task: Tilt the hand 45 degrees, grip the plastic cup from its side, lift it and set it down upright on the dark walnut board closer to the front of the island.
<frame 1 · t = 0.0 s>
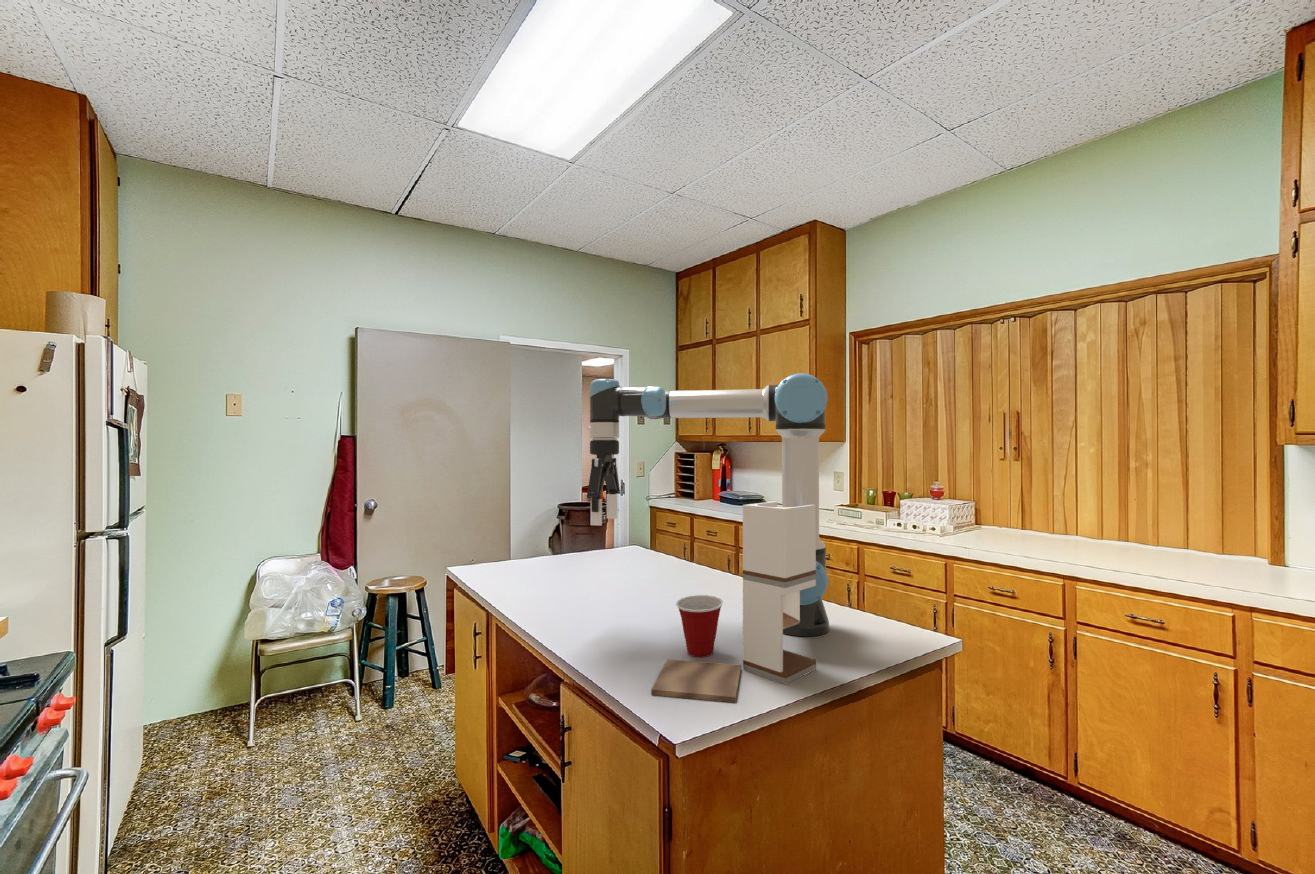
hand: (604, 521, 149), 28 cm above the counter, tool pointing down, fingers open, 13 cm apart
white dispenser: (779, 670, 123), on the counter
walnut board: (698, 681, 117), on the counter
plastic cup: (699, 654, 133), on the counter
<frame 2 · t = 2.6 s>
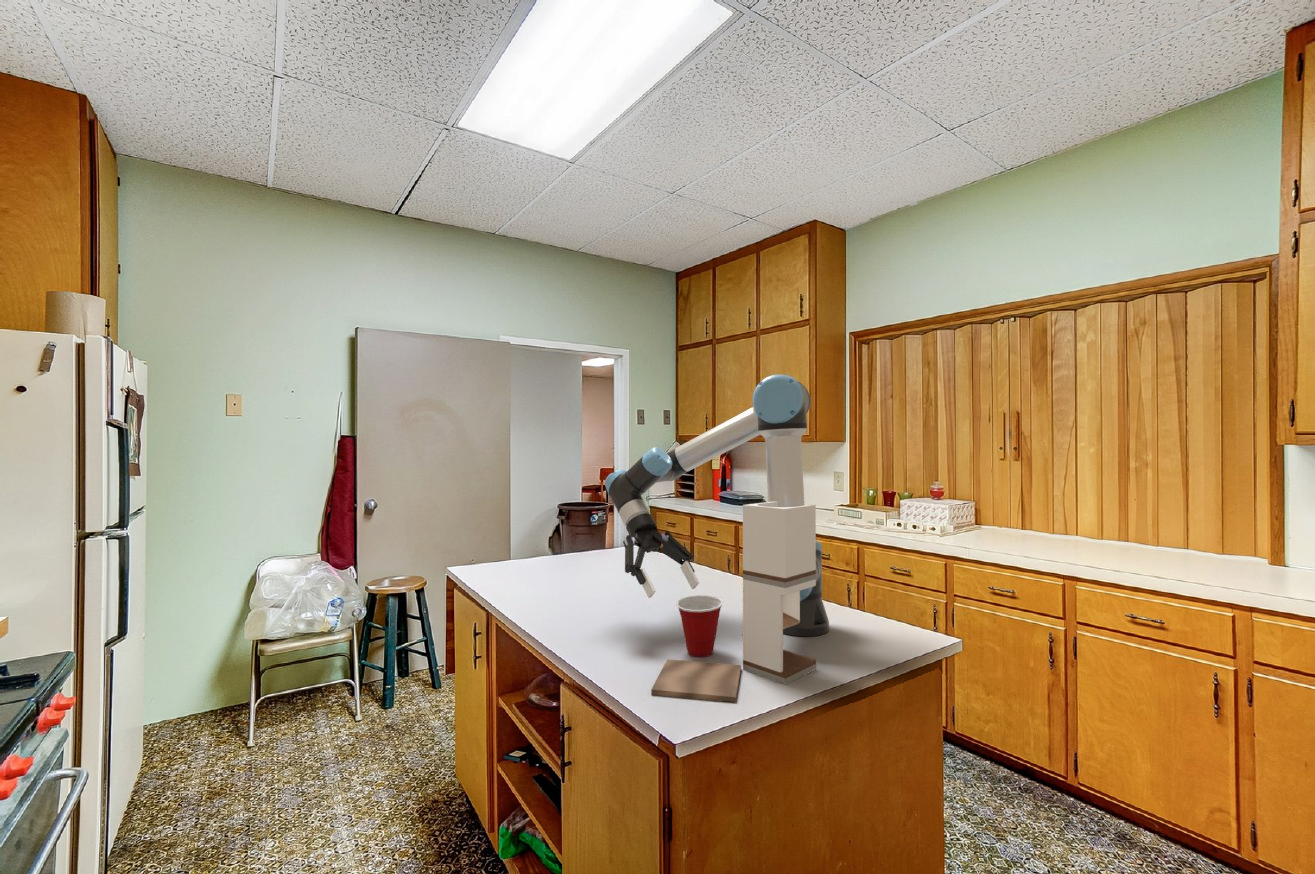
hand: (674, 590, 139), 13 cm above the counter, tool tilted 45°, fingers open, 13 cm apart
nothing on the counter moved.
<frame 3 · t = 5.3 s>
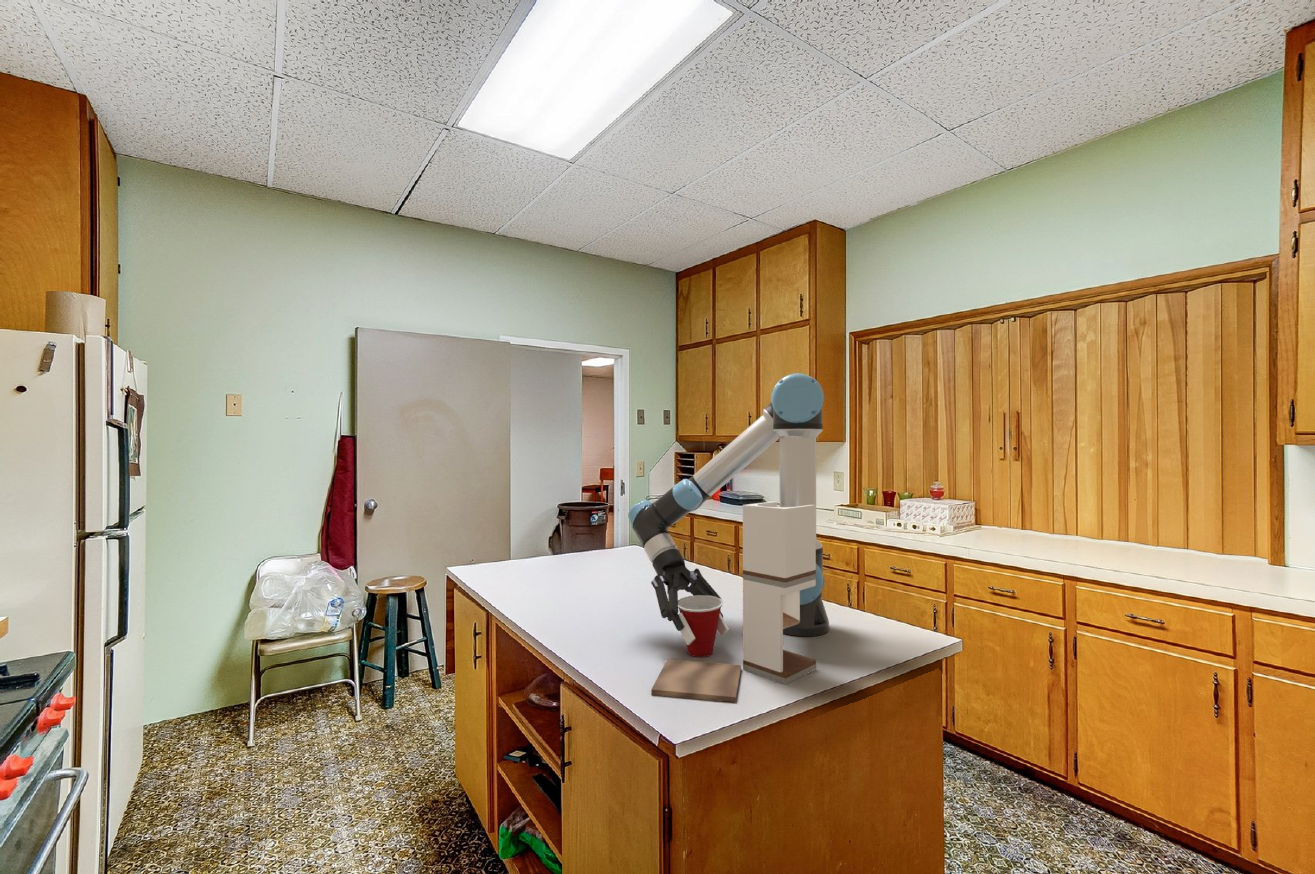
hand: (708, 637, 130), 4 cm above the counter, tool tilted 45°, fingers closed on plastic cup, 10 cm apart
plastic cup: (699, 653, 133), on the counter, touching gripper
everything else where it was.
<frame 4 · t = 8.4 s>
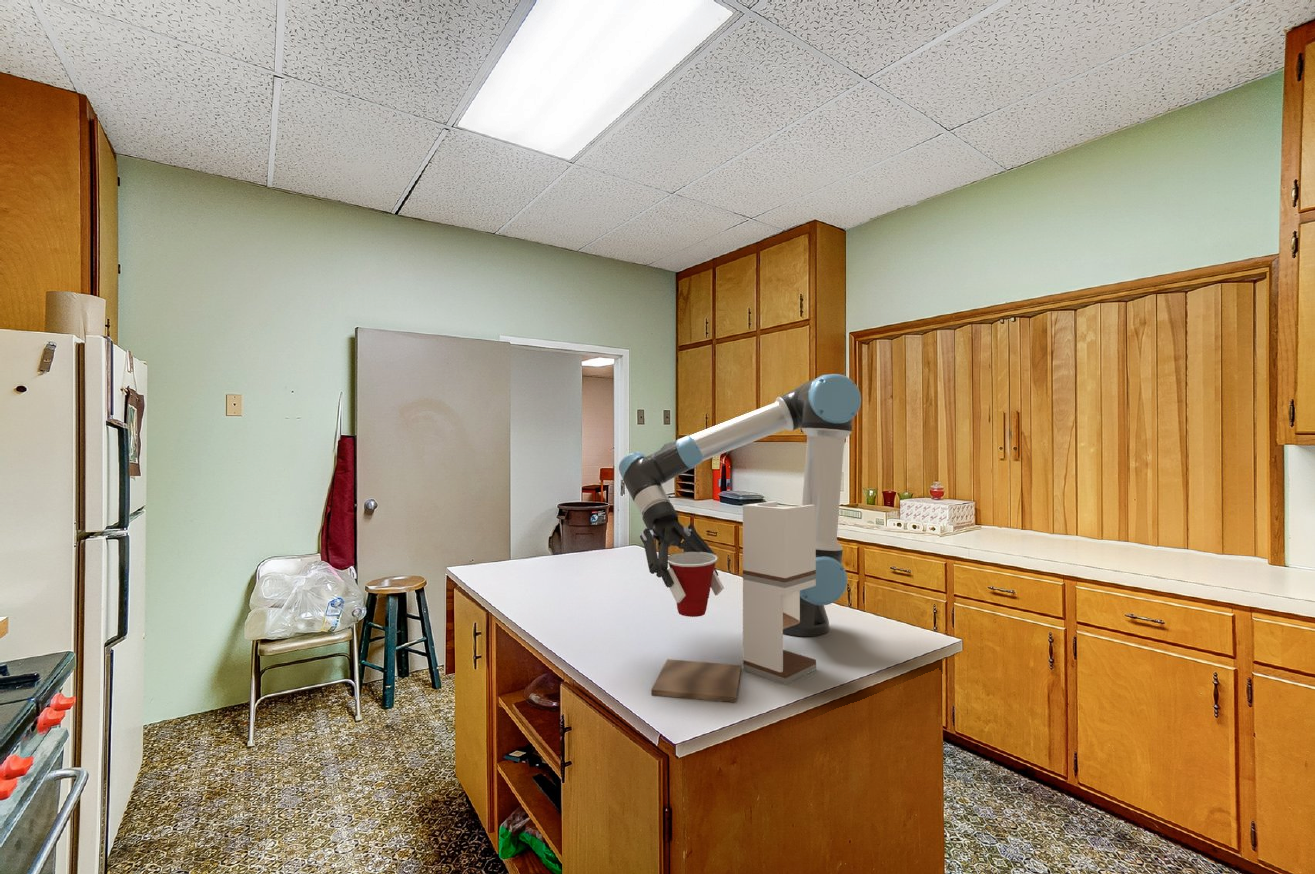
hand: (701, 595, 119), 17 cm above the counter, tool tilted 45°, fingers closed on plastic cup, 10 cm apart
plastic cup: (690, 614, 121), point 12 cm above the counter, touching gripper
everything else where it was.
when the fingers open (7 cm above the counter, at t = 11.7 s): plastic cup moves 3 cm, resting on walnut board.
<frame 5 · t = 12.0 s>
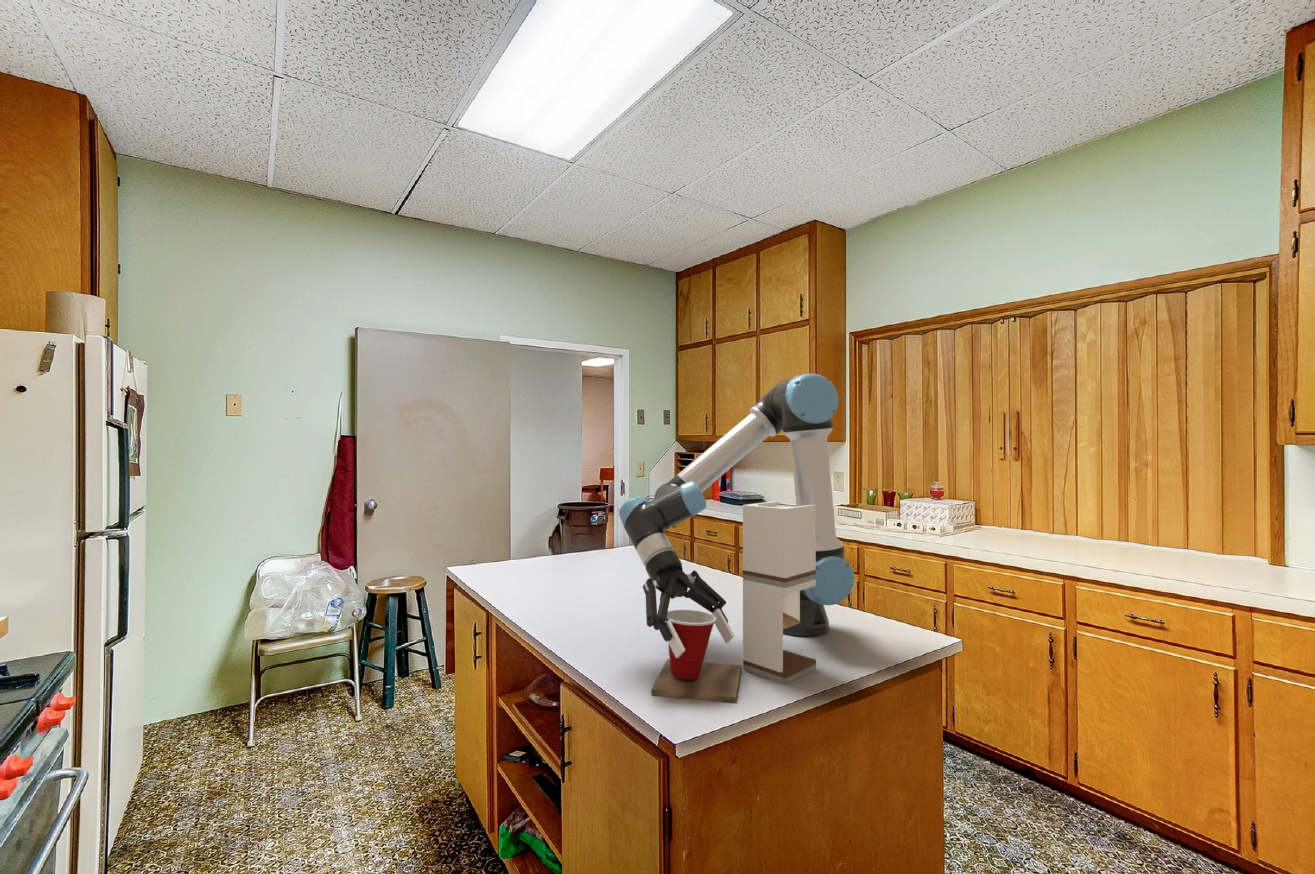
hand: (706, 646, 115), 8 cm above the counter, tool tilted 45°, fingers open, 13 cm apart
plastic cup: (684, 676, 116), point 1 cm above the counter, touching gripper, walnut board
everything else where it was.
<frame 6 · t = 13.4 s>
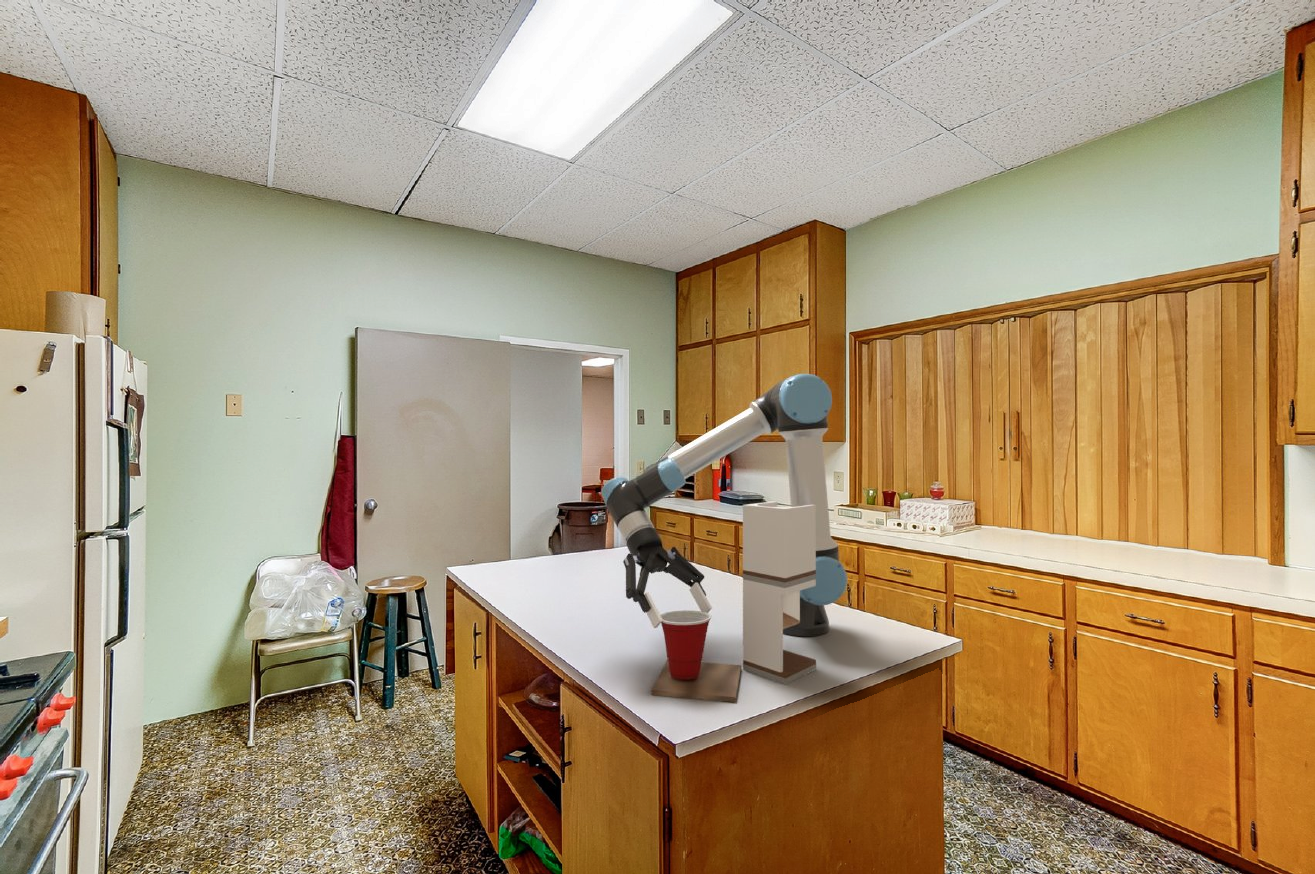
hand: (684, 618, 119), 12 cm above the counter, tool tilted 45°, fingers open, 13 cm apart
plastic cup: (683, 676, 116), point 1 cm above the counter, touching walnut board
everything else where it was.
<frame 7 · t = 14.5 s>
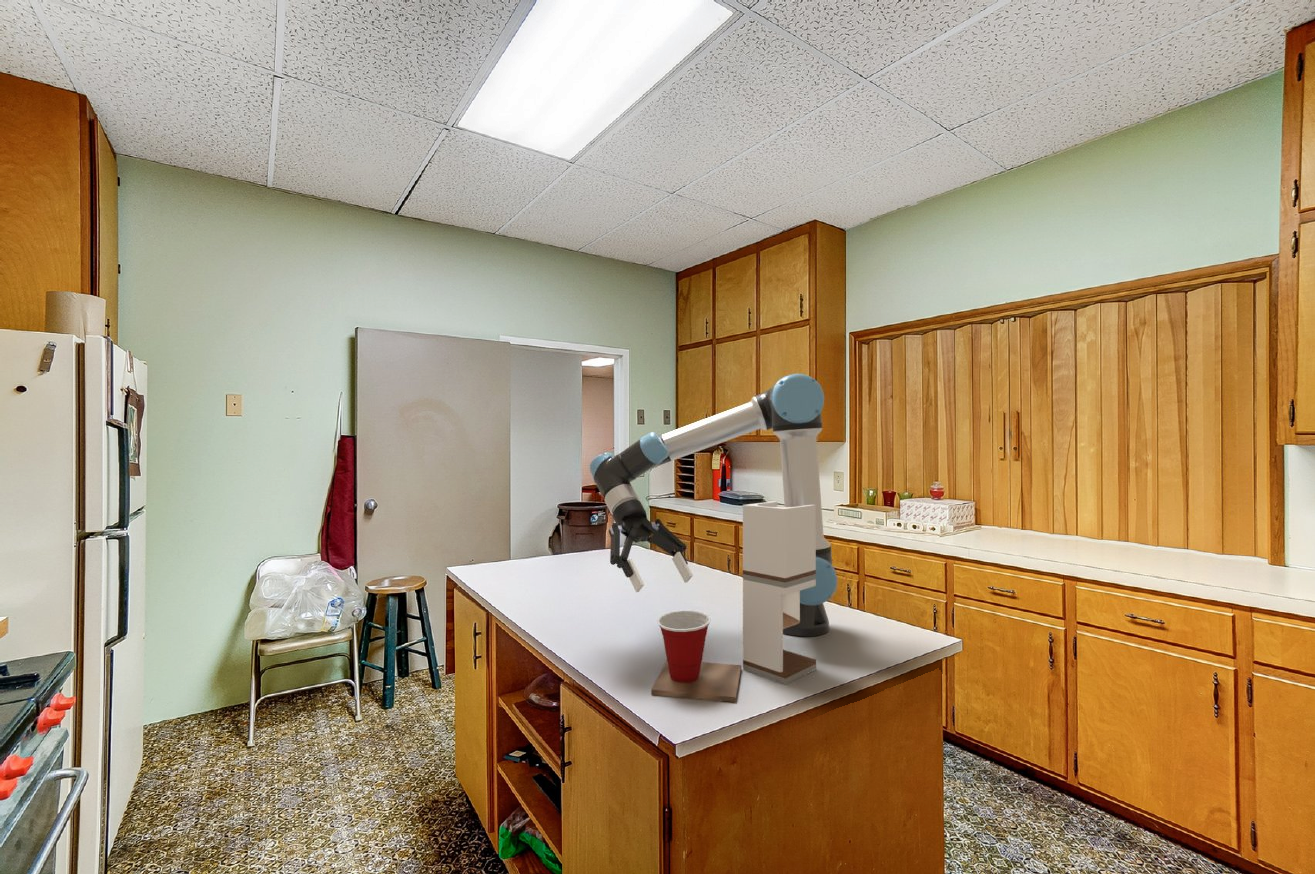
hand: (665, 583, 125), 18 cm above the counter, tool tilted 45°, fingers open, 13 cm apart
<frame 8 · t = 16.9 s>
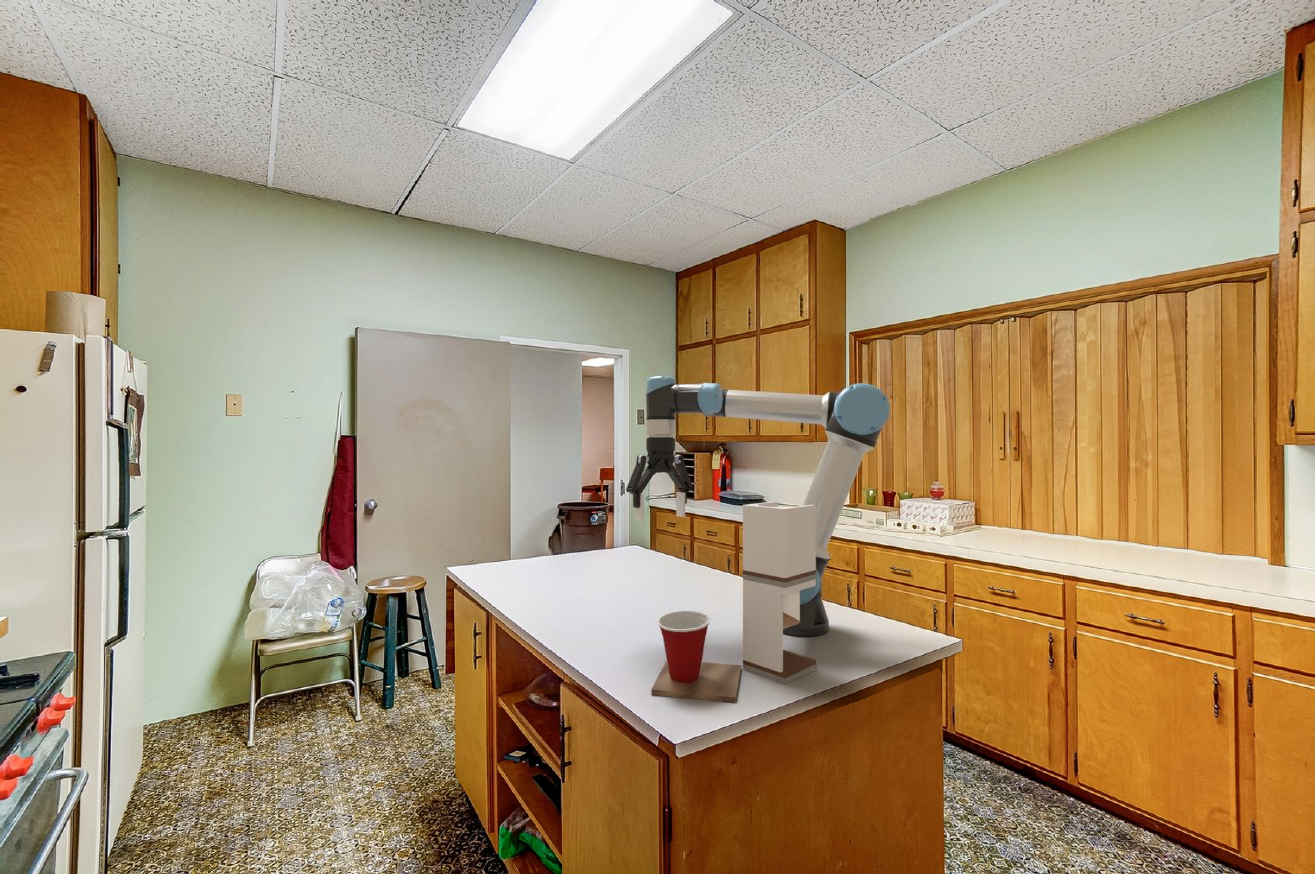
hand: (660, 518, 149), 29 cm above the counter, tool pointing down, fingers open, 13 cm apart
nothing on the counter moved.
at the end: plastic cup inside the target area on the walnut board (3.1 cm from its centre), point 0.8 cm above the walnut board's base; plastic cup tilted 0°; the gripper is holding nothing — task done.
